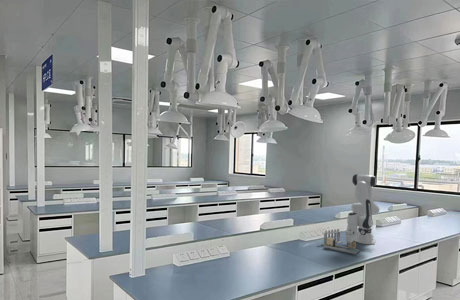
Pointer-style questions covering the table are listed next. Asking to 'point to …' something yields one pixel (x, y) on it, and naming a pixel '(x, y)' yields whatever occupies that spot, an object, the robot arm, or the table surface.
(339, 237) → the test tube rack
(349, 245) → the wooden block
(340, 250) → the rail
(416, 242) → the table surface
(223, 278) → the table surface
